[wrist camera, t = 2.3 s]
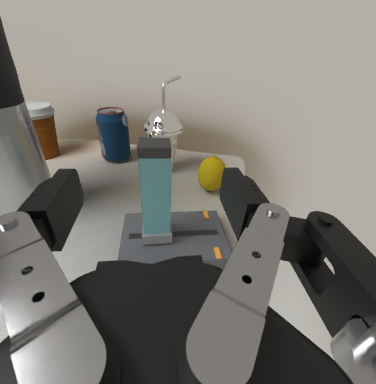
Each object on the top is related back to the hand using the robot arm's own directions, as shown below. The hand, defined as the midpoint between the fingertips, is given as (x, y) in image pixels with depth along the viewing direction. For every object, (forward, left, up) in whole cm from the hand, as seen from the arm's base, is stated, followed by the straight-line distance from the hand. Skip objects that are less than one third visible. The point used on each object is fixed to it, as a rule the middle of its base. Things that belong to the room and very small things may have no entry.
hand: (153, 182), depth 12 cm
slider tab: (0, +12, -16) cm, 20 cm away
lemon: (+11, +26, -18) cm, 34 cm away
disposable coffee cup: (-28, +44, -19) cm, 55 cm away
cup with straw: (+2, +36, -18) cm, 41 cm away
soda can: (-10, +42, -19) cm, 47 cm away
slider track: (+3, +12, -18) cm, 22 cm away
